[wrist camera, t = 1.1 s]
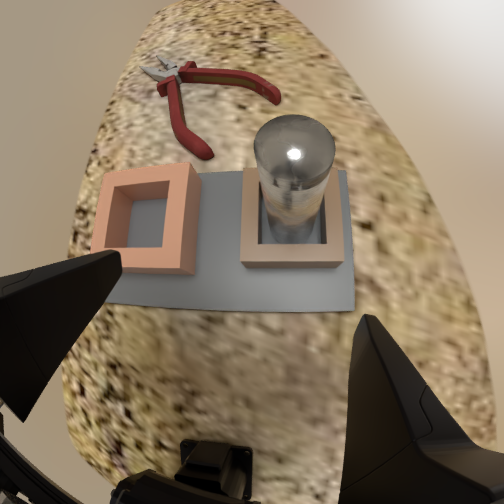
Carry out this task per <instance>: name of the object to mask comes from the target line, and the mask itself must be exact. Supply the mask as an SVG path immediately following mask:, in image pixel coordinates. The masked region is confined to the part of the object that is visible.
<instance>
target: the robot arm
mask: <svg viewBox="0 0 504 504" xmlns="http://www.w3.org/2000/svg"><path fill="white" fill-rule="evenodd" d="M122 272H123V268H122V260H121V254H120V252H119V251H116V250H113V249H109V250H104V251H100V252H96V253H92V254H88V255H84V256H80V257H76V258H73V259H69V260H65V261H61V262H57V263H53V264H50V265H46V266H42V267H38V268H35V269H31V270H27V271H24V272H20V273H17V274H12V275H8V276H4V277H0V408H1V407H2V405H3V404H5V405H6V407H7V408H9V409H10V411H11V412H13V414H14V415H15V416H16V417H17V418H18V419H19V420H21V422H23V423H24V421H25V420H26V419H27V417H28V415H29V413H30V412H31V409H32V408H33V407H34V405H35V403H36V402H37V400H38V398H39V397H40V395H41V393H42V392H43V390H44V388H45V387H46V385H47V384H48V382H49V380H50V379H51V377H52V376H53V374H54V373H55V371H56V369H57V368H58V367H59V365H60V364H61V362H62V361H63V359H64V358H65V356H66V355H67V353H68V352H69V350H70V349H71V347H72V346H73V345H74V343H75V342H76V340H77V339H78V338H79V336H80V335H81V333H82V332H83V331H84V329H85V328H86V326H87V325H88V324H89V322H90V321H91V320H92V318H93V317H94V316H95V314H96V313H97V312H98V310H99V309H100V308H101V306H102V305H103V304H104V302H105V301H106V299H107V297H108V296H109V294H110V293H111V291H112V289H113V288H114V286H115V285H116V283H117V282H118V280H119V279H120V277H121V275H122ZM426 384H427V383H426V382H425V380H424V379H423V378H422V376H421V375H420V373H419V372H418V371H417V369H416V368H415V367H414V365H413V364H412V363H411V361H410V360H409V359H408V357H407V356H406V355H405V353H404V352H403V351H402V349H401V348H400V347H399V345H398V344H397V343H396V342H395V340H394V339H393V338H392V336H391V335H390V334H389V333H388V331H387V330H386V329H385V327H384V326H383V325H382V324H381V322H380V321H379V320H378V319H377V317H376V316H374V315H369V314H364V315H363V316H362V318H361V320H360V322H359V324H358V326H357V329H356V331H355V333H354V337H353V346H352V354H351V362H350V370H349V381H348V409H347V427H346V441H345V452H344V462H343V471H342V480H341V487H340V494H339V500H338V504H504V454H503V453H499V452H495V451H491V450H487V449H484V448H481V447H479V446H478V445H476V444H475V443H474V442H473V441H472V440H471V439H470V438H469V437H468V435H467V434H466V433H465V432H464V431H463V429H462V428H461V427H460V426H459V424H458V423H457V422H456V421H455V420H454V418H453V417H452V416H451V415H450V414H449V412H448V411H447V410H446V409H445V407H444V406H443V405H442V404H441V402H440V401H439V400H438V398H437V397H436V395H435V394H434V393H433V391H432V390H431V389H430V387H429V386H428V385H426ZM3 425H4V424H3V415H2V414H1V412H0V504H28V503H27V502H25V501H24V500H22V499H20V498H19V497H17V496H16V495H17V493H18V492H20V493H22V494H23V495H25V496H26V497H28V498H29V499H28V500H29V501H30V502H31V503H32V504H83V503H82V502H80V501H79V500H77V499H76V498H74V497H73V496H72V495H70V494H69V493H67V492H66V491H65V490H63V489H62V488H61V487H59V486H58V485H57V484H56V483H54V482H53V481H52V480H50V479H49V478H48V477H47V476H46V475H44V474H43V473H42V472H41V471H40V470H38V469H37V468H36V467H35V466H34V465H33V464H32V463H31V462H30V461H28V460H27V459H26V458H25V457H24V456H23V455H22V454H21V453H20V452H19V451H18V450H17V449H16V448H15V447H14V446H13V445H12V444H11V443H10V442H9V441H8V440H7V439H6V438H5V437H4V426H3ZM184 443H186V444H187V445H188V446H185V445H184ZM180 450H181V464H182V466H181V467H180V469H179V470H178V471H177V473H176V474H175V476H174V478H173V479H171V478H168V477H166V476H163V475H161V474H158V473H156V471H154V470H151V469H147V470H145V471H142V472H140V473H137V474H135V475H132V476H130V477H127V478H125V479H124V480H122V481H120V482H119V483H118V485H117V487H116V489H113V490H112V492H111V500H110V504H261V502H258V501H253V502H252V501H247V500H250V499H251V496H252V471H253V450H252V449H251V448H250V447H241V446H231V445H229V444H225V443H216V442H209V441H200V442H199V441H193V440H187V439H184V440H183V441H182V442H181V443H180ZM245 451H248V452H249V454H246V453H245ZM244 495H247V497H246V496H244Z"/></svg>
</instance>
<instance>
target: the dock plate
mask: <svg viewBox="0 0 504 504" xmlns="http://www.w3.org/2000/svg"><path fill="white" fill-rule="evenodd" d="M197 174H198V176H199V177H200V179H201V180H202V184H201V195H200V206H199V218H198V231H197V245H196V261H195V275H178V274H142V273H122V275H121V277H120V279H119V280H118V282H117V283H116V285H115V286H114V288H113V289H112V291H111V293H110V294H109V296H108V297H107V299H106V301H105V302H109V303H119V304H129V305H141V306H153V307H167V308H182V309H200V310H223V311H260V312H324V311H354V262H353V242H352V227H351V215H350V204H349V194H348V185H347V176H346V171H345V170H338V169H337V168H333V167H331V171H330V174H329V178H328V181H327V184H326V188H325V191H324V195H323V198H322V201H321V205H320V208H319V211H318V214H317V218H316V221H315V224H314V227H313V230H312V233H311V235H310V237H309V238H308V239H307V240H306V241H305V242H303V243H301V244H282V243H280V242H278V241H277V240H276V239H275V238H274V237H273V236H272V234H271V232H270V228H269V223H268V218H267V213H266V208H265V202H264V197H263V192H262V187H261V182H260V177H259V172H258V168H243V171H229V172H211V173H197ZM167 199H168V198H163V199H150V200H138V201H133V204H132V210H131V216H130V223H129V231H128V239H127V247H126V248H157V247H162V244H163V233H164V224H165V215H166V206H167Z"/></svg>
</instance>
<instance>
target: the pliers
mask: <svg viewBox="0 0 504 504" xmlns="http://www.w3.org/2000/svg"><path fill="white" fill-rule="evenodd" d="M156 57H157V58H158V59H159V61H160V62H161V63H162V64H163V66H164V67H165V68H166V69H167V70H168V71H166V72H163V71H161V70H160V69H157V68H153V67H143V66H140V68H141V69H142V70H143V71H145V72H146V73H147V74H149V75H150V76H151V77H152V78H154V79H155V80H157V81H159V83H158V84H157V91H158V92H159V94H160V96H161V97H164V96H167V95H168V102H169V111H170V119H171V125H172V128H173V131H174V134H175V136H176V138H177V139H178V141H179V142H180V143H181V144H182V145H184V146H185V147H186V148H187V149H189V150H190V151H191V152H193V153H194V154H195V155H196V156H197V157H199V158H201V159H205V160H207V159H210V158H212V157H213V156H214V153H213V151H212V149H211V148H210V147H209V146H208V145H207V143H205V142H204V141H203V140H202V139H201V138H199V137H198V136H197V135H195V134H194V133H193V132H191V131H190V130H189V129H188V128H187V127H186V123H185V117H184V111H183V104H182V98H181V92H180V85H179V84H181V83H204V84H219V85H231V86H240V87H244V88H248V89H251V90H253V91H255V92H257V93H258V94H260V95H261V96H263V97H264V98H266V99H267V100H269V101H270V102H272V103H273V104H275V105H277V104H278V103H279V102H280V100H281V93H280V91H279V89H278V88H277V87H275V86H274V85H272V84H271V83H269V82H268V81H266V80H265V79H263V78H262V77H260V76H258V75H256V74H254V73H250V72H246V71H240V70H230V69H212V68H197V66H196V63H195V62H194V61H188V62H187V63H186V65H185V66H181V67H180V68H177V66H176V64H175V63H173V62H172V61H170V60H168V59H165V58H162V57H159V56H157V55H156Z"/></svg>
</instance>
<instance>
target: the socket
mask: <svg viewBox="0 0 504 504" xmlns="http://www.w3.org/2000/svg"><path fill="white" fill-rule="evenodd" d="M201 184H202V180H201V179H200V177H199V176H198V174H197V172H196V171H195V169H194V168H193V166H192V164H191V163H190V162H185V163H175V164H166V165H157V166H149V167H142V168H135V169H128V170H121V171H115V172H109V173H104V178H103V182H102V187H101V191H100V196H99V201H98V206H97V211H96V217H95V223H94V229H93V236H92V243H91V250H90V254H92V253H96V252H100V251H104V250H109V249H113V250H116V251H119V252H120V254H121V260H122V268H123V272H122V273H142V274H178V275H195V261H196V245H197V231H198V218H199V206H200V195H201ZM163 198H168V199H167V206H166V215H165V224H164V233H163V244H162V247H157V248H126V247H127V239H128V231H129V223H130V216H131V210H132V204H133V201H138V200H150V199H163Z"/></svg>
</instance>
